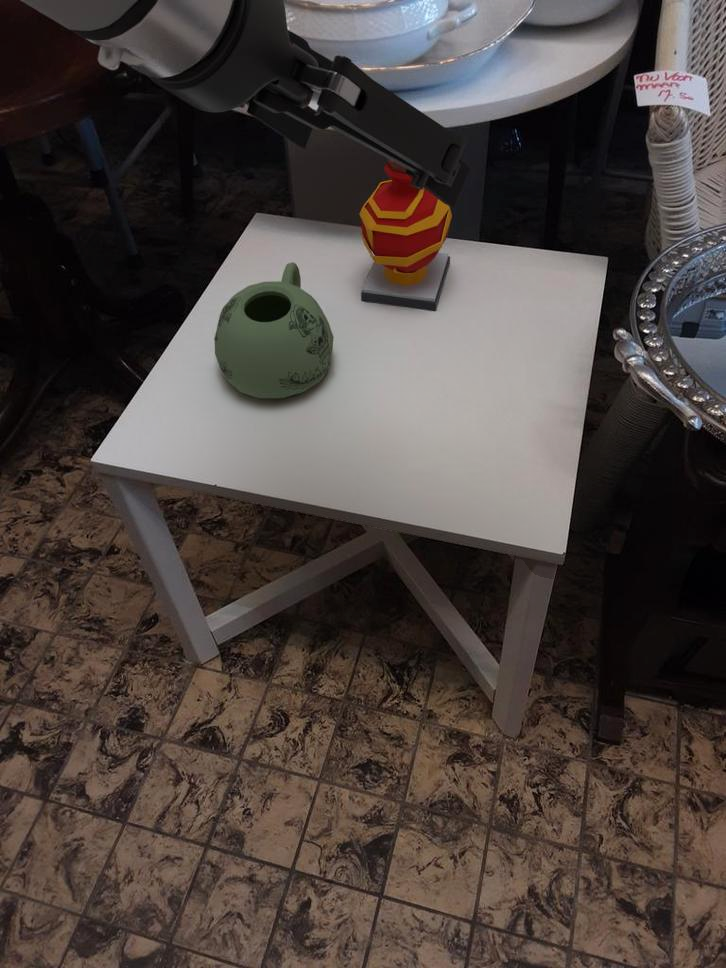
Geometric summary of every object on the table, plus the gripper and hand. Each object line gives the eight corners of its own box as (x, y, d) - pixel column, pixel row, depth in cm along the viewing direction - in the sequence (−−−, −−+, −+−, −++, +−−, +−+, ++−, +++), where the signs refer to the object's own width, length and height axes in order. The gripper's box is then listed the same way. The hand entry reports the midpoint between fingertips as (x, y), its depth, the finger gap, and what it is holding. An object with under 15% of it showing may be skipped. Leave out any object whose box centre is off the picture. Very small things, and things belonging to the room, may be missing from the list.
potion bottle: (451, 298, 89) (458, 178, 77) (362, 300, 89) (355, 182, 77) (446, 243, 95) (452, 124, 83) (362, 245, 96) (356, 128, 84)
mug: (318, 416, 81) (310, 355, 74) (203, 398, 83) (185, 338, 76) (354, 316, 90) (350, 253, 83) (250, 303, 92) (237, 241, 86)
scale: (449, 263, 95) (450, 252, 94) (435, 310, 90) (436, 300, 89) (379, 255, 97) (378, 244, 96) (361, 300, 92) (360, 290, 91)
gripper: (3, 23, 43) (236, 155, 62) (351, 158, 33) (503, 267, 52) (44, -121, 41) (271, 61, 60) (425, -24, 31) (555, 157, 50)
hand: (379, 157), depth 56 cm, fingers open, 13 cm apart
